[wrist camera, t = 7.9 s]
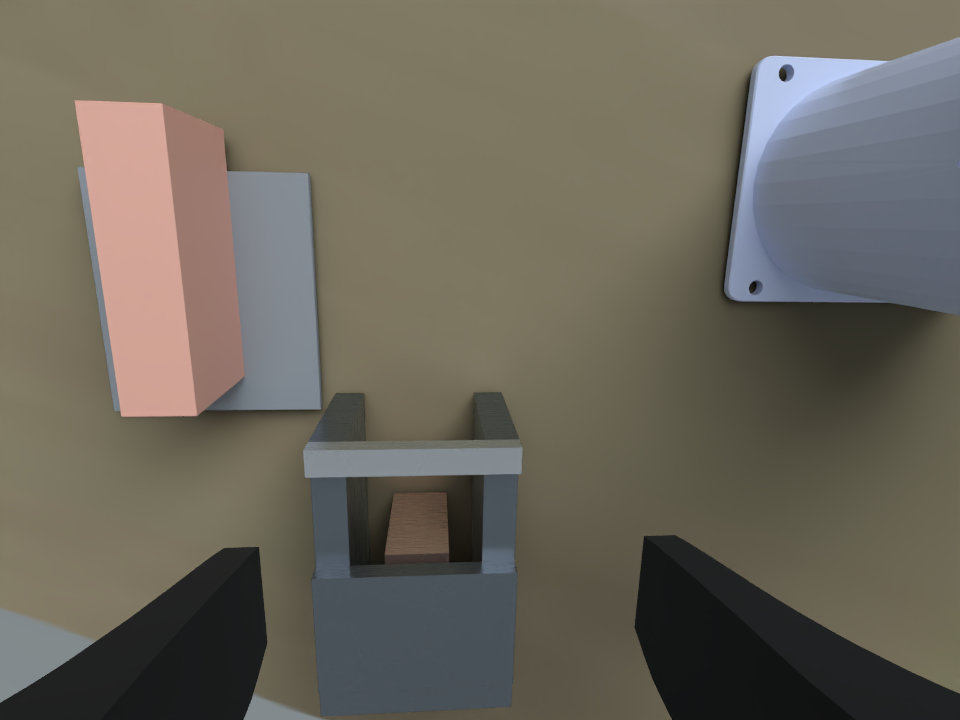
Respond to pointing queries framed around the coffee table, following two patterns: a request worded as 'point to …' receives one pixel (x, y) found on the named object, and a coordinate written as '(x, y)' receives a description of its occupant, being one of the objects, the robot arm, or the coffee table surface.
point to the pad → (261, 292)
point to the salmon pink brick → (163, 254)
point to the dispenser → (413, 568)
